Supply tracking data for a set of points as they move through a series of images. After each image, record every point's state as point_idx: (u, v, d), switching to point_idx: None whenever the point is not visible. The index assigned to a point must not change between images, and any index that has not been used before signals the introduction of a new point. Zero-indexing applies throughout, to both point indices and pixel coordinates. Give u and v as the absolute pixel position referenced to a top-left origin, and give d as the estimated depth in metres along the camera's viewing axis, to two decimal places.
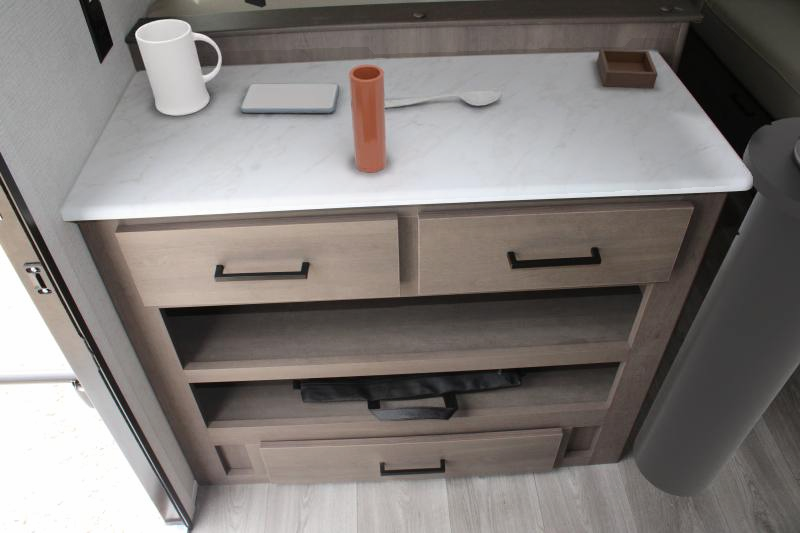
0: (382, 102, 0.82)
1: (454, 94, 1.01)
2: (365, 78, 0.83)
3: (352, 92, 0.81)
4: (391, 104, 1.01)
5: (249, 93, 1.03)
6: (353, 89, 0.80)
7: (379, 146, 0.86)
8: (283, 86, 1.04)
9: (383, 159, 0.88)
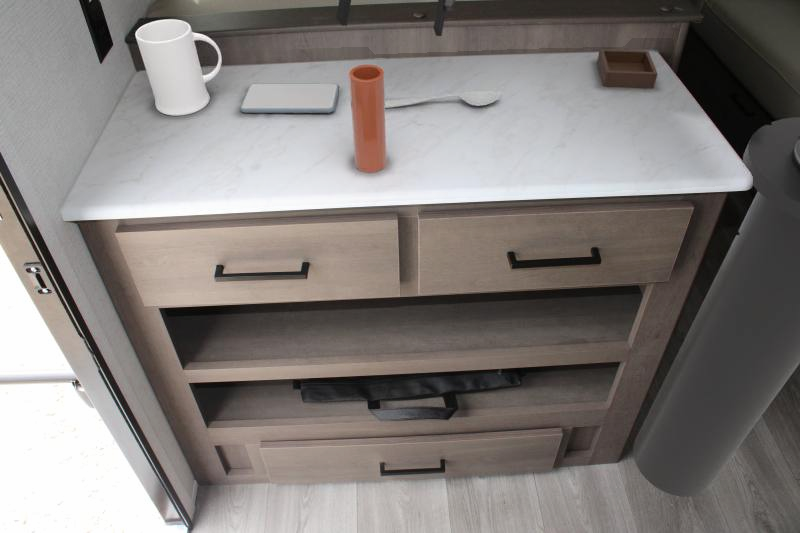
0: (382, 102, 0.82)
1: (454, 94, 1.01)
2: (365, 78, 0.83)
3: (352, 92, 0.81)
4: (391, 104, 1.01)
5: (249, 93, 1.03)
6: (353, 89, 0.80)
7: (379, 146, 0.86)
8: (283, 86, 1.04)
9: (383, 159, 0.88)
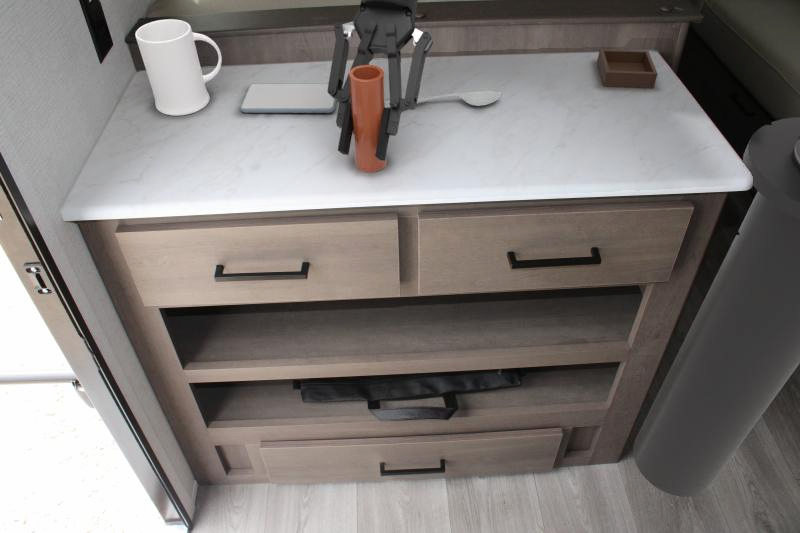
0: (382, 102, 0.82)
1: (454, 94, 1.01)
2: (365, 78, 0.83)
3: (352, 92, 0.81)
4: None
5: (249, 93, 1.03)
6: (353, 89, 0.80)
7: None
8: (283, 86, 1.04)
9: None
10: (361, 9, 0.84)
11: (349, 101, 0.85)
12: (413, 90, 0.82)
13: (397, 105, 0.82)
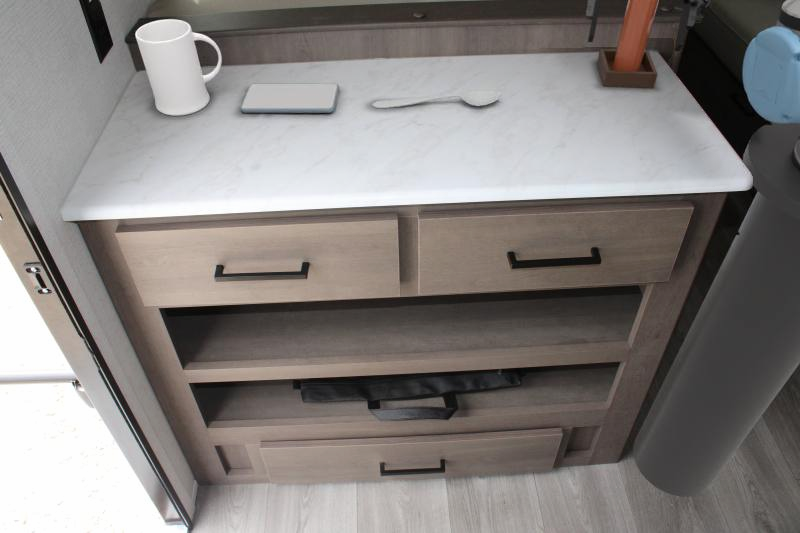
0: (654, 13, 0.99)
1: (454, 94, 1.00)
2: None
3: (633, 4, 0.98)
4: (391, 104, 1.01)
5: (249, 93, 1.03)
6: (635, 1, 0.98)
7: (642, 54, 1.03)
8: (283, 86, 1.04)
9: (639, 66, 1.05)
10: None
11: None
12: None
13: (699, 0, 0.98)
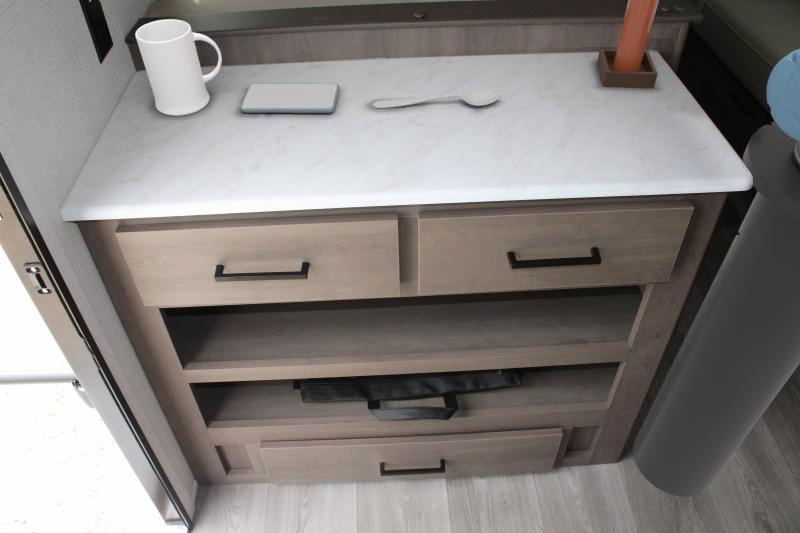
0: (654, 13, 0.99)
1: (454, 94, 1.00)
2: None
3: (633, 4, 0.98)
4: (391, 104, 1.01)
5: (249, 93, 1.03)
6: (635, 1, 0.98)
7: (642, 54, 1.03)
8: (283, 86, 1.04)
9: (639, 66, 1.05)
10: None
11: None
12: None
13: None
